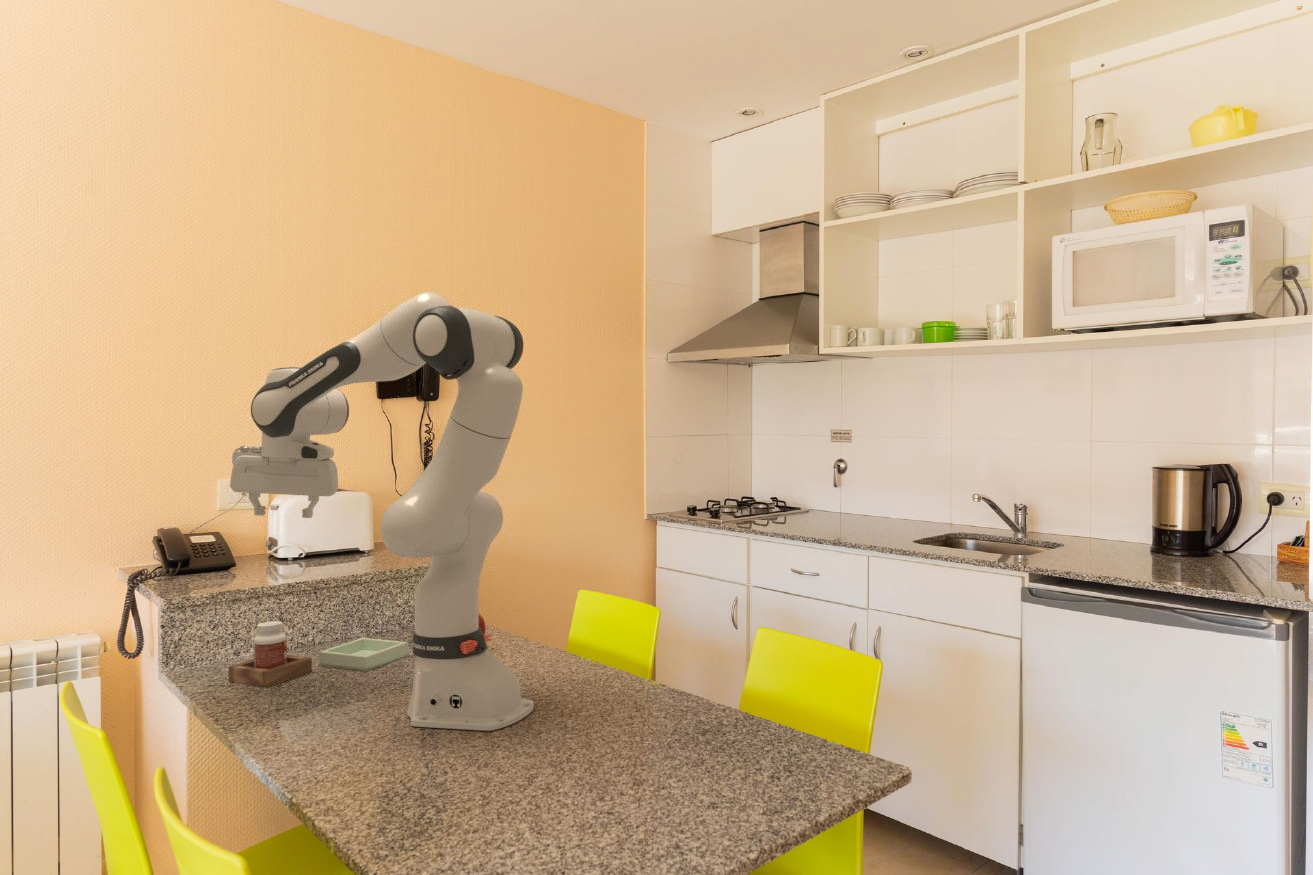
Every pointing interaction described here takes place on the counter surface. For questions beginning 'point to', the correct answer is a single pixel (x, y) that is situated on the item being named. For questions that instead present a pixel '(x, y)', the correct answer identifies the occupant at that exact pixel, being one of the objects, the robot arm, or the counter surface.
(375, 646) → the tray
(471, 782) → the counter surface
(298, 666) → the collar
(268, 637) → the pill bottle
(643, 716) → the counter surface
